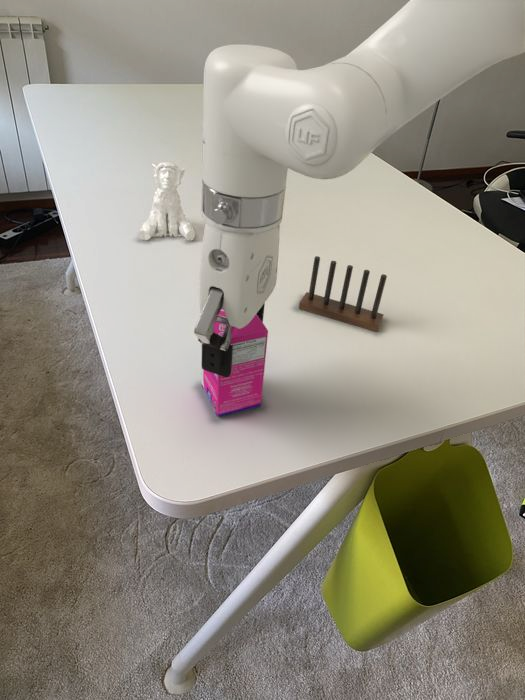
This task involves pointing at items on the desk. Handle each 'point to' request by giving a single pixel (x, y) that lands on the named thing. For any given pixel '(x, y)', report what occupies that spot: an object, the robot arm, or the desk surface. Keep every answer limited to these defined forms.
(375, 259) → the desk surface
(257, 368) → the supplement box
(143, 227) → the white creature statuette
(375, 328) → the rack
